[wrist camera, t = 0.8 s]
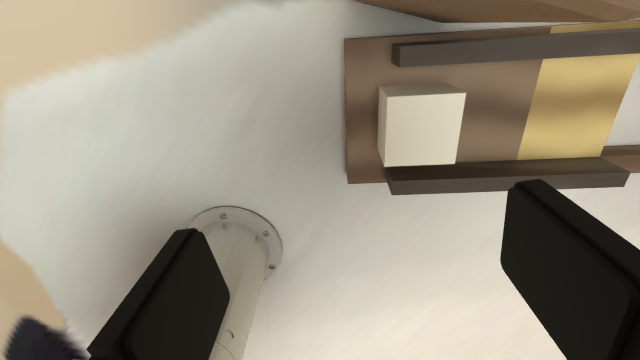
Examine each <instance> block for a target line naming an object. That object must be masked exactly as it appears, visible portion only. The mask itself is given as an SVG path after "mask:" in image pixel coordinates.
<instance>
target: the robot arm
mask: <svg viewBox="0 0 640 360" xmlns="http://www.w3.org/2000/svg"><path fill="white" fill-rule="evenodd" d="M281 255H282V246H281V241H280V239H279V236H278V234H277V233H276V231H275V230H274V228H273V227H272V226H271V225H270V224H269V223H268V222H267V221H266V220H264V219H263V218H262V217H260V216H258V215H256V214H254V213H253V212H250V211H247V210H244V209H241V208H235V207H218V208H213V209H210V210H207V211H204V212H203V213H201V214H200V215H198V216H197V217H196V218H195V219H194V220H193V221H192V222H191V224H190V225H189V226H188V228H187V229H182V230H177V231H175V232H174V233H173V234H172V236H171V237H170V238H169V240H168V241H167V243H166V244H165V245H164V247H163V248H162V249H161V251H160V252H159V253H158V255H157V256H156V257H155V259H154V260H153V261H152V263H151V264H150V265H149V267H148V268H147V269H146V271H145V272H144V273H143V275H142V276H141V277H140V279H139V280H138V281H137V283H136V284H135V285H134V287H133V288H132V289H131V291H130V292H129V293H128V295H127V296H126V297H125V299H124V300H123V301H122V303H121V304H120V305H119V307H118V308H117V309H116V311H115V312H114V313H113V315H112V316H111V317H110V319H109V320H108V321H107V323H106V324H105V325H104V327H103V328H102V329H101V331H100V332H99V333H98V335H97V336H96V337H95V339H94V340H93V341H92V343H91V344H90V345H89V347H88V348H87V349H86V350H87V351H88V352H89V353H90V354H91V357H90V359H89V360H242V358H243V354H244V350H245V346H246V342H247V339H248V335H249V331H250V327H251V323H252V320H253V316H254V312H255V308H256V304H257V301H258V297H259V293H260V289H261V285H262V281H264V280H266V279H268V278H269V277H270V276H272V275H273V273H274V272H275V271H276V270H277V268H278V266H279V264H280V260H281ZM500 261H501V265H502V268H503V270H504V272H505V273H506V275H507V276H508V277H509V279H510V280H511V282H512V283H513V284H514V286H515V287H516V289H517V290H518V291H519V293H520V294H521V296H522V297H523V298H524V300H525V301H526V303H527V304H528V305H529V307H530V308H531V310H532V311H533V312H534V314H535V315H536V317H537V318H538V319H539V321H540V322H541V324H542V325H543V326H544V328H545V329H546V331H547V332H548V333H549V335H550V336H551V338H552V339H553V340H554V342H555V343H556V345H557V346H558V347H559V349H560V350H561V352H562V353H563V354H564V356H565V357H566V359H567V360H640V250H639V249H638V248H636V247H635V246H634V245H632V244H631V243H629V242H628V241H627V240H625V239H624V238H623V237H621V236H620V235H618V234H617V233H616V232H614V231H613V230H611V229H610V228H609V227H607V226H606V225H604V224H603V223H602V222H600V221H599V220H598V219H596V218H595V217H593V216H592V215H591V214H589V213H588V212H586V211H585V210H584V209H582V208H581V207H580V206H578V205H577V204H575V203H574V202H573V201H571V200H570V199H568V198H567V197H566V196H564V195H563V194H561V193H560V192H559V191H557V190H556V189H555V188H553V187H552V186H550V185H549V184H548V183H546V182H545V181H543V180H541V179H533V180H526V181H519V182H516V183H515V184H514V187H512V188H510V189H509V190H508V195H507V204H506V213H505V222H504V231H503V240H502V249H501V258H500Z"/></svg>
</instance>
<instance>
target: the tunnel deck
mask: <svg viewBox="0 0 640 360" xmlns="http://www.w3.org/2000/svg"><path fill="white" fill-rule="evenodd" d="M639 57H640V20H628V21H618V22H598V23H582V24H567V25H551V26H536V27H520V28H505V29H489V30H474V31H458V32H443V33H428V34H412V35H397V36H381V37H366V38H350V39H344V59H345V107H346V155H347V179H348V184H360V183H386V182H387V183H388V186H389V188H390V191H391V194H392V195H410V194H438V193H466V192H494V191H508V190H509V189H510V188H512V187H514V184H515V183H516V182H519V181H526V180H533V179H541V180H543V181H545V182H546V183H548V184H549V185H550V186H552V187H553V188H555V189H577V188H605V187H624V186H625V183H626V181H627V179H628V177H629V175H630V173H640V145H626V146H604V144H605V142H606V139H607V137H608V134H609V132H610V129H611V127H612V124H613V122H614V119H615V117H616V114H617V112H618V109H619V107H620V104H621V102H622V99H623V97H624V94H625V92H626V89H627V87H628V84H629V82H630V79H631V77H632V74H633V72H634V69H635V67H636V64H637V62H638V60H639ZM430 83H448V84H450V85H452V86H454V87H456V88H458V89H460V90H462V91H464V92H466V98H465V104H464V110H463V116H462V123H461V129H460V135H459V141H458V147H457V153H456V160H455V164H440V165H416V166H392V167H384V164H383V162H382V159H381V156H380V154H379V151H378V148H377V141H378V108H379V86H394V85H412V84H430Z"/></svg>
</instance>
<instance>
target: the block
mask: <svg viewBox="0 0 640 360" xmlns="http://www.w3.org/2000/svg"><path fill="white" fill-rule="evenodd" d="M355 1H359V2H363V3H367V4H371V5H375V6H379V7H383V8H387V9H390V10H394V11H398V12H402V13H406V14H410V15H414V16H418V17H422V18H426V19H430V20H434V21H437V22H441V23H480V22H618V21H623V20H629V19H634V18H640V0H355Z"/></svg>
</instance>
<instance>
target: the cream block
mask: <svg viewBox="0 0 640 360" xmlns="http://www.w3.org/2000/svg"><path fill="white" fill-rule="evenodd" d="M465 98H466V92H464V91H462V90H460V89H458V88H456V87H454V86H452V85H450V84H448V83H430V84H412V85H394V86H379V108H378V141H377V148H378V151H379V154H380V156H381V159H382V162H383V164H384V167H392V166H416V165H440V164H455V160H456V153H457V147H458V141H459V135H460V129H461V123H462V116H463V110H464V104H465Z"/></svg>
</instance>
